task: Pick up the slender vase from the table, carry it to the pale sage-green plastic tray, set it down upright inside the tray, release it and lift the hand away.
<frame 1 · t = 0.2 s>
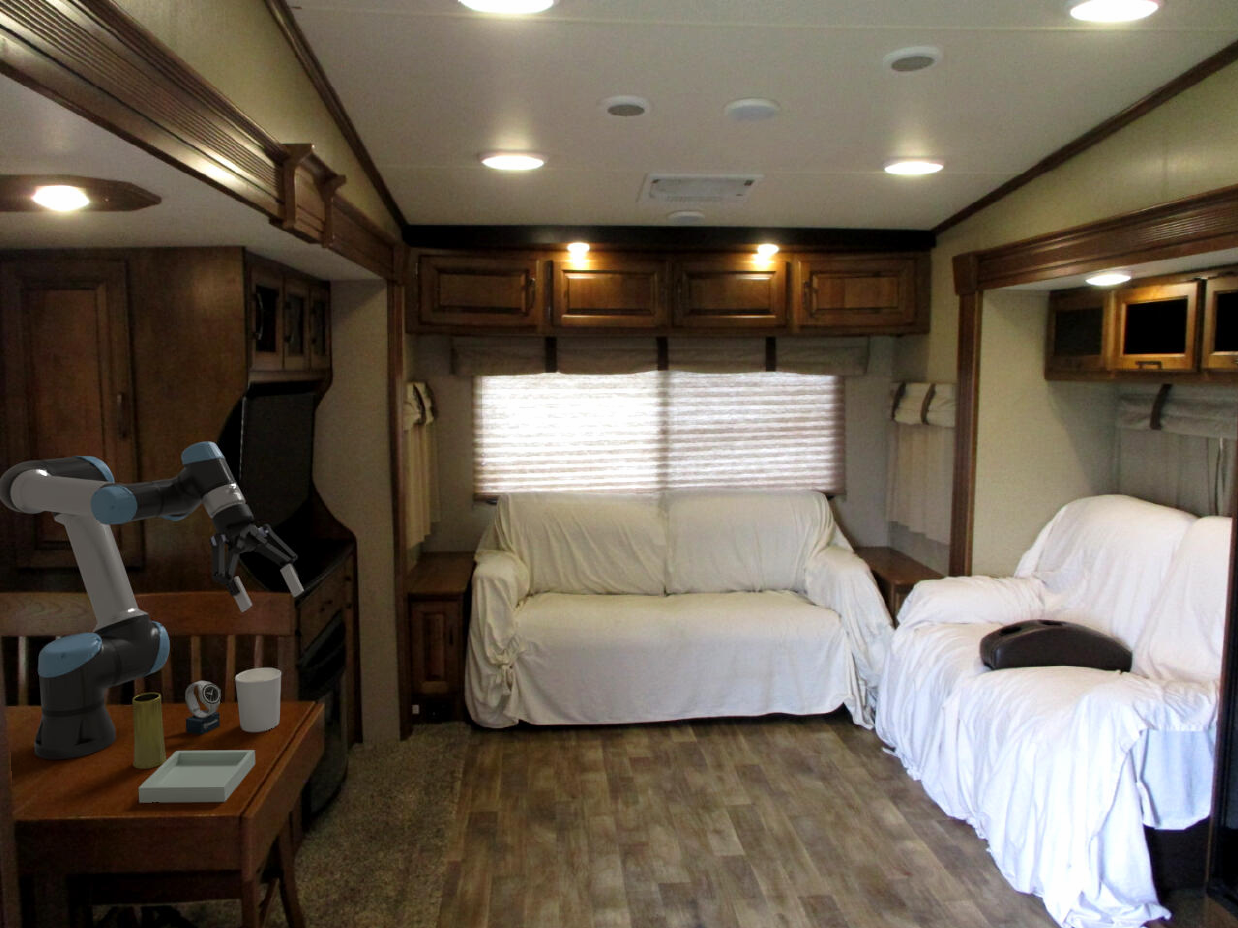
hand: (273, 601, 181), 35 cm above the table, tool tilted 35°, fingers open, 13 cm apart
watch: (203, 729, 203), on the table
candle holder: (260, 725, 206), on the table
vase: (150, 763, 186), on the table
tray: (200, 782, 178), on the table
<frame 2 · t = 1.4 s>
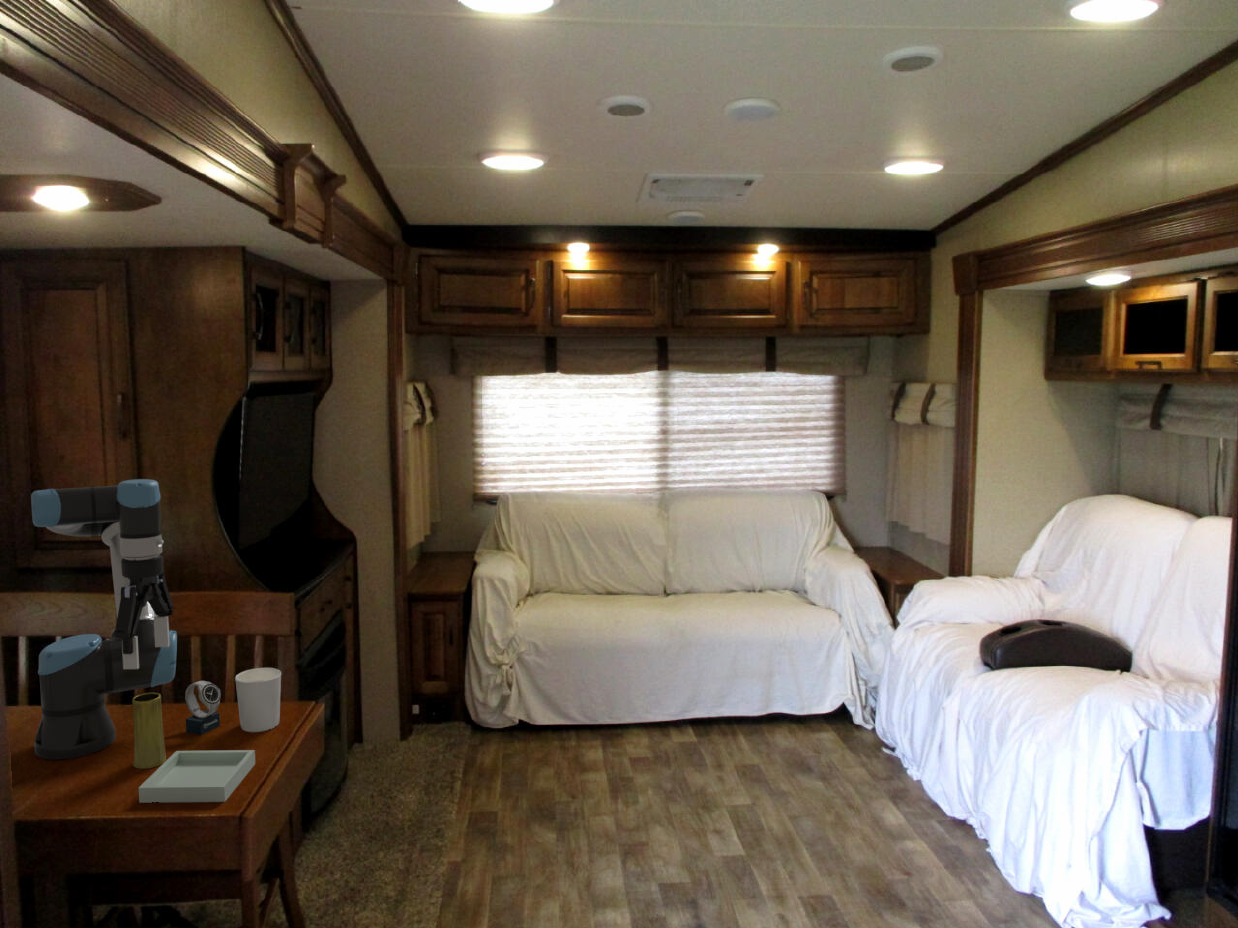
hand: (147, 657, 183), 23 cm above the table, tool pointing down, fingers open, 13 cm apart
nothing on the table moved.
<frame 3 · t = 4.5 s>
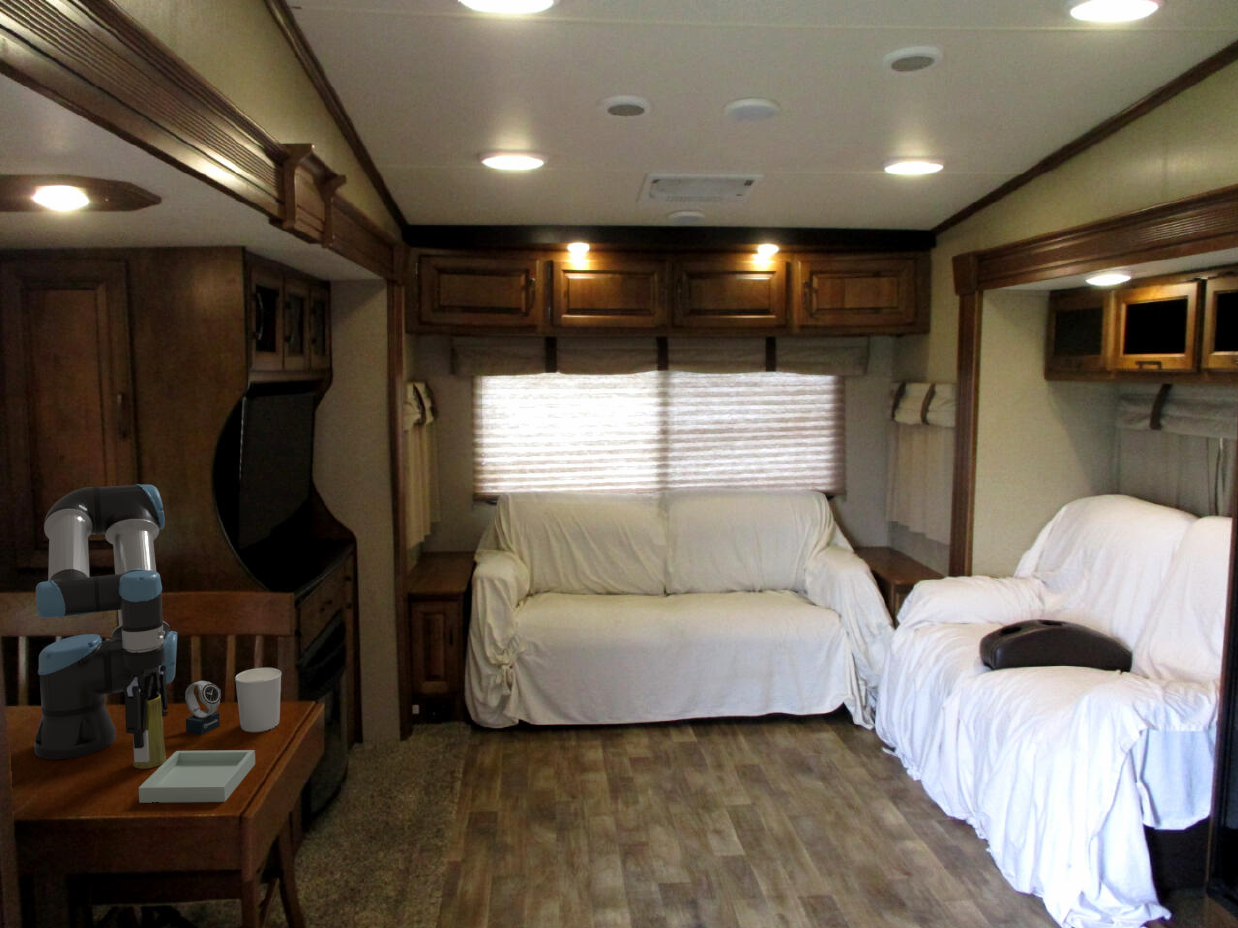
hand: (149, 754, 186), 2 cm above the table, tool pointing down, fingers closed on vase, 6 cm apart
vase: (150, 763, 186), on the table, touching gripper
everything else where it was.
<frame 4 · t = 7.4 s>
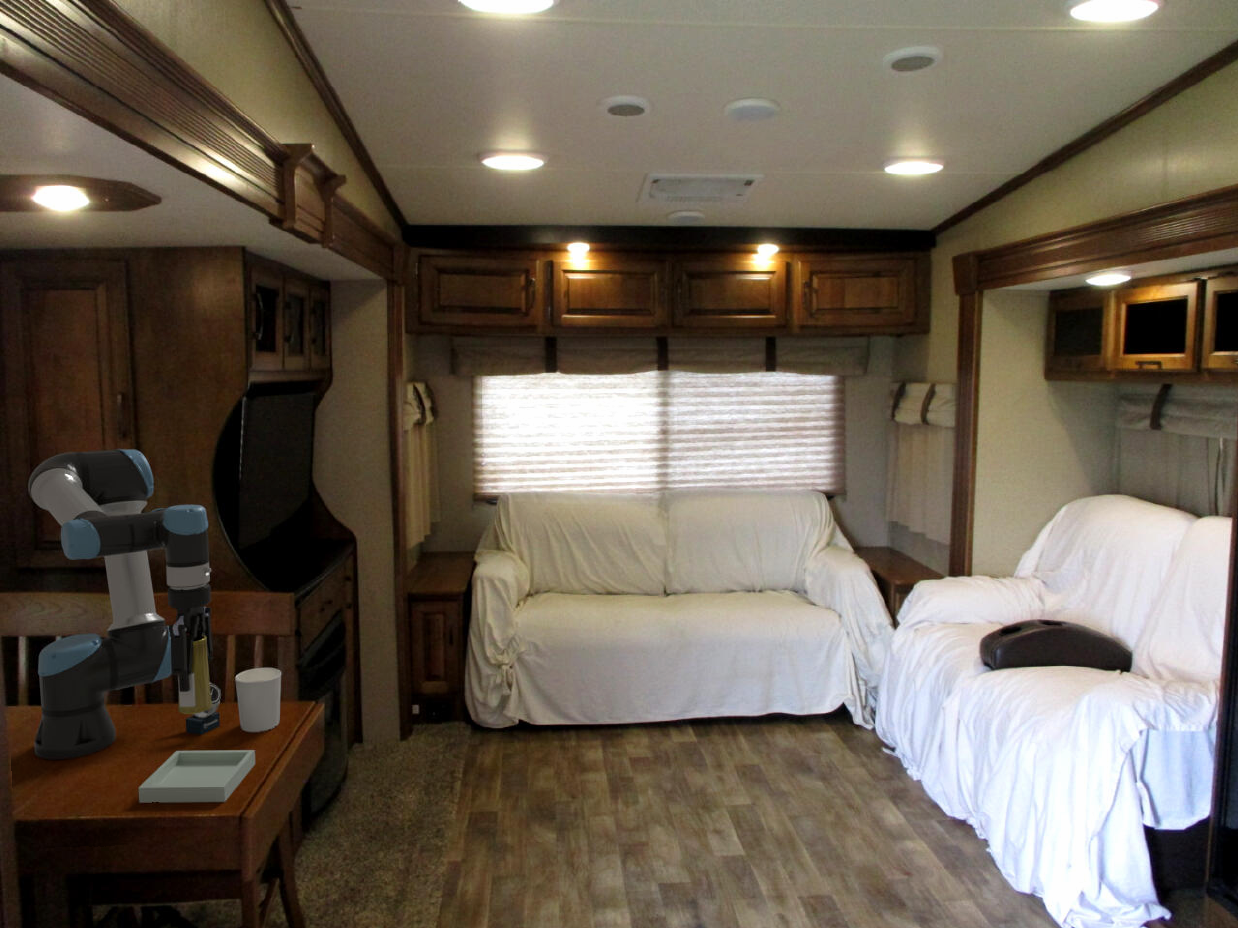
hand: (194, 699, 176), 17 cm above the table, tool pointing down, fingers closed on vase, 6 cm apart
vase: (195, 709, 176), point 15 cm above the table, touching gripper
everything else where it was.
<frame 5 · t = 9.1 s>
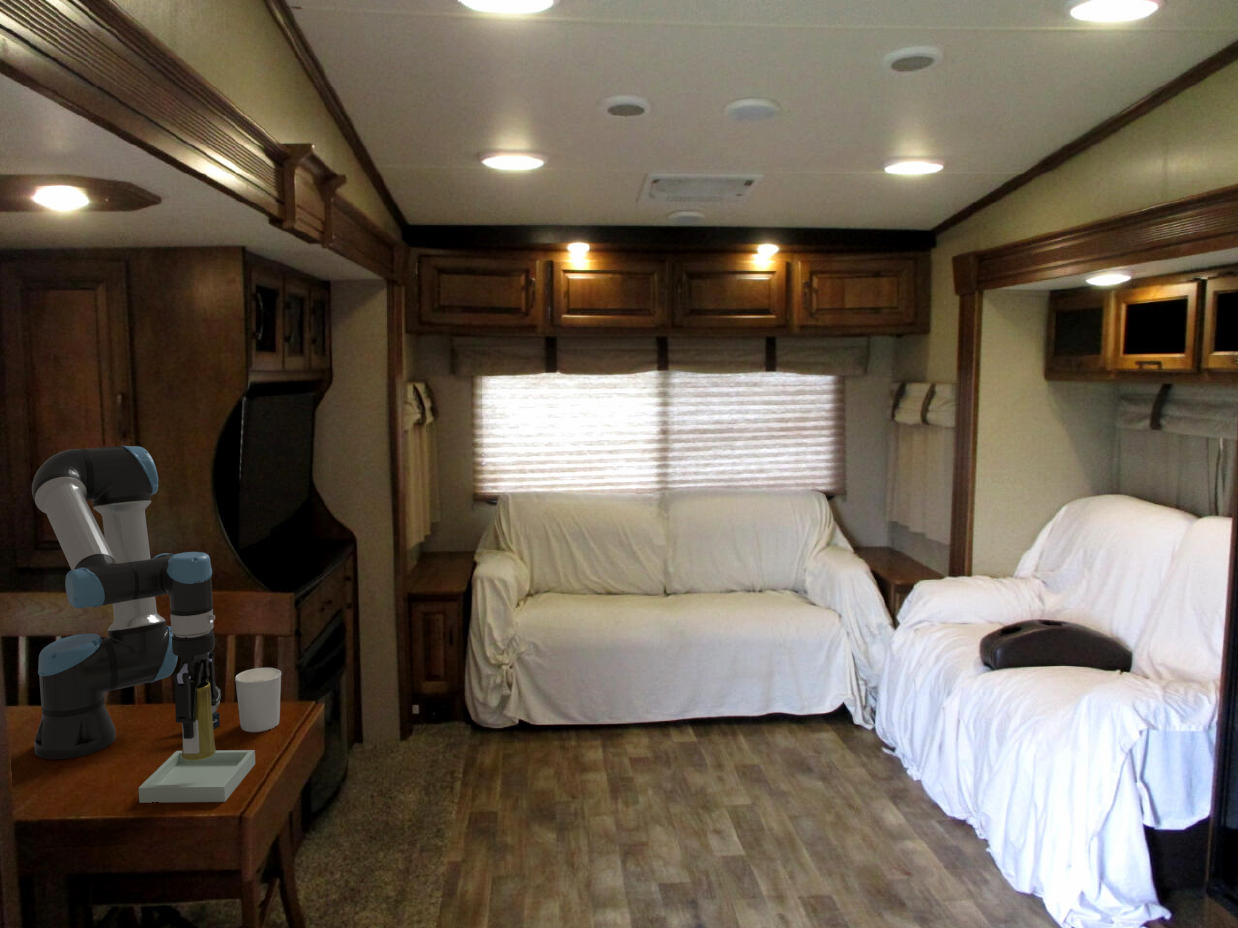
hand: (198, 745, 177), 8 cm above the table, tool pointing down, fingers closed on vase, 6 cm apart
vase: (198, 754, 177), point 6 cm above the table, touching gripper
everything else where it was.
when the fingers open (4 cm above the table, at t = 10.5 s): vase drops 1 cm, resting on tray.
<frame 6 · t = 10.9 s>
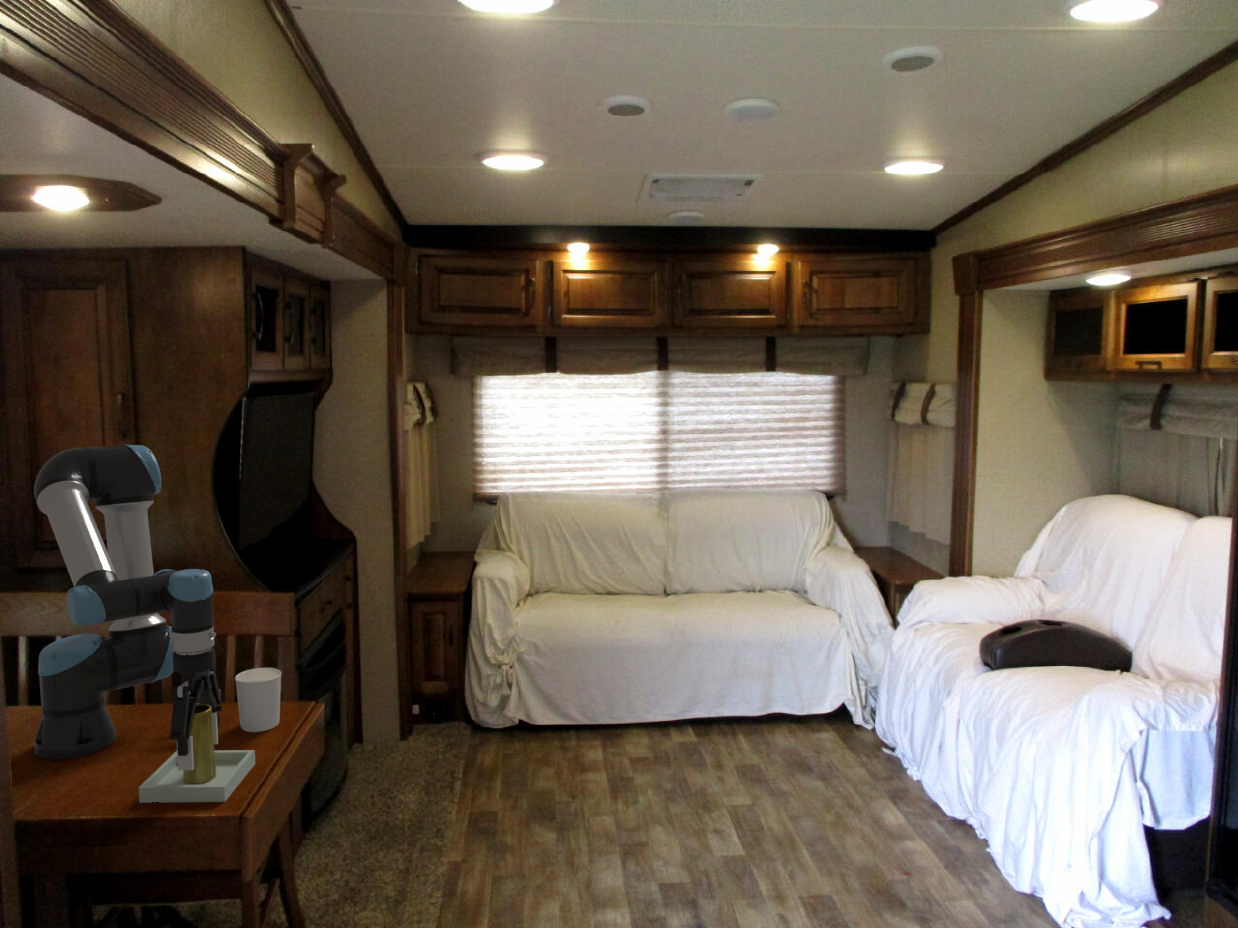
hand: (198, 756, 177), 5 cm above the table, tool pointing down, fingers open, 11 cm apart
vase: (199, 778, 178), point 1 cm above the table, touching tray
everything else where it was.
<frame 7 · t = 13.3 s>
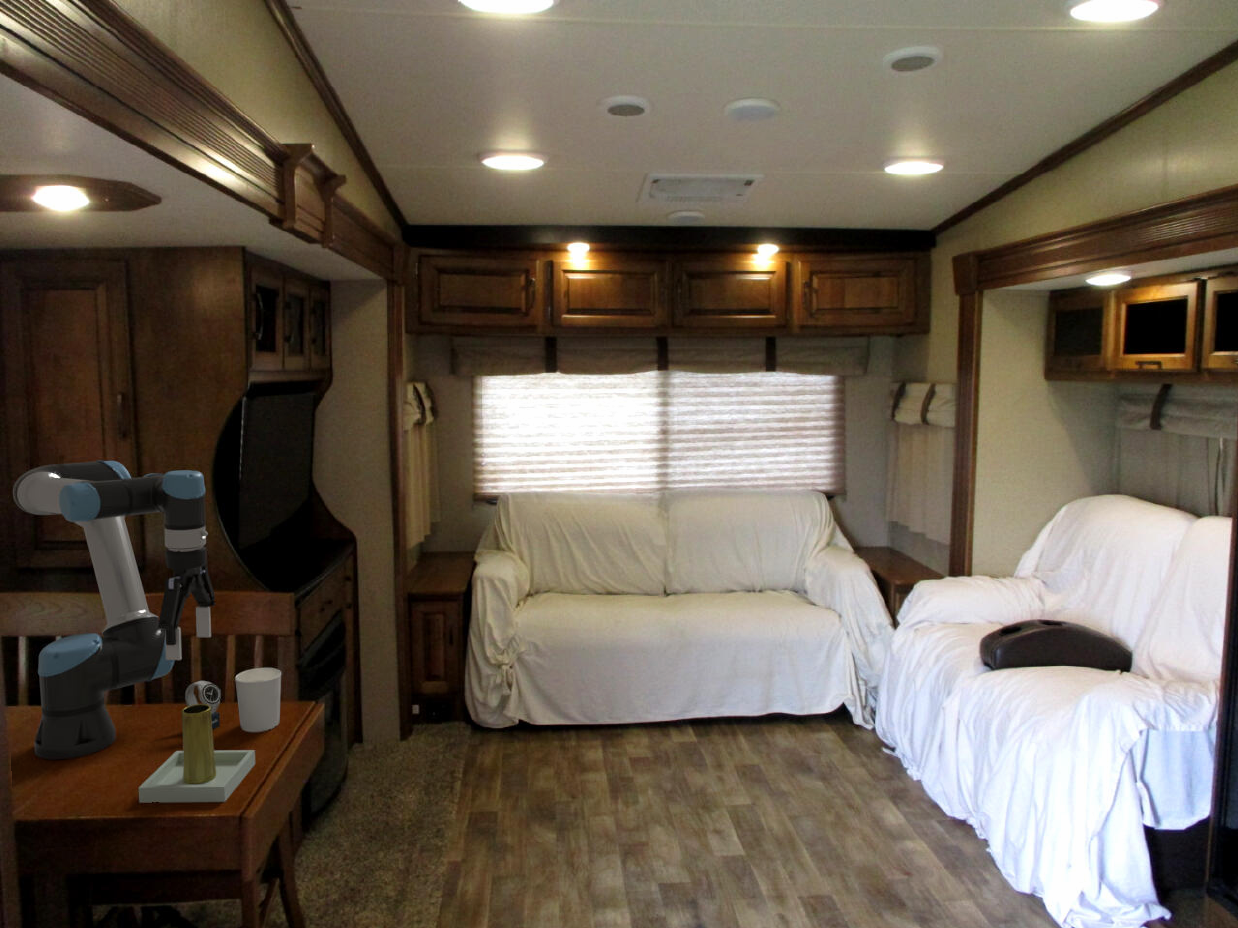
hand: (189, 647, 184), 25 cm above the table, tool pointing down, fingers open, 13 cm apart
nothing on the table moved.
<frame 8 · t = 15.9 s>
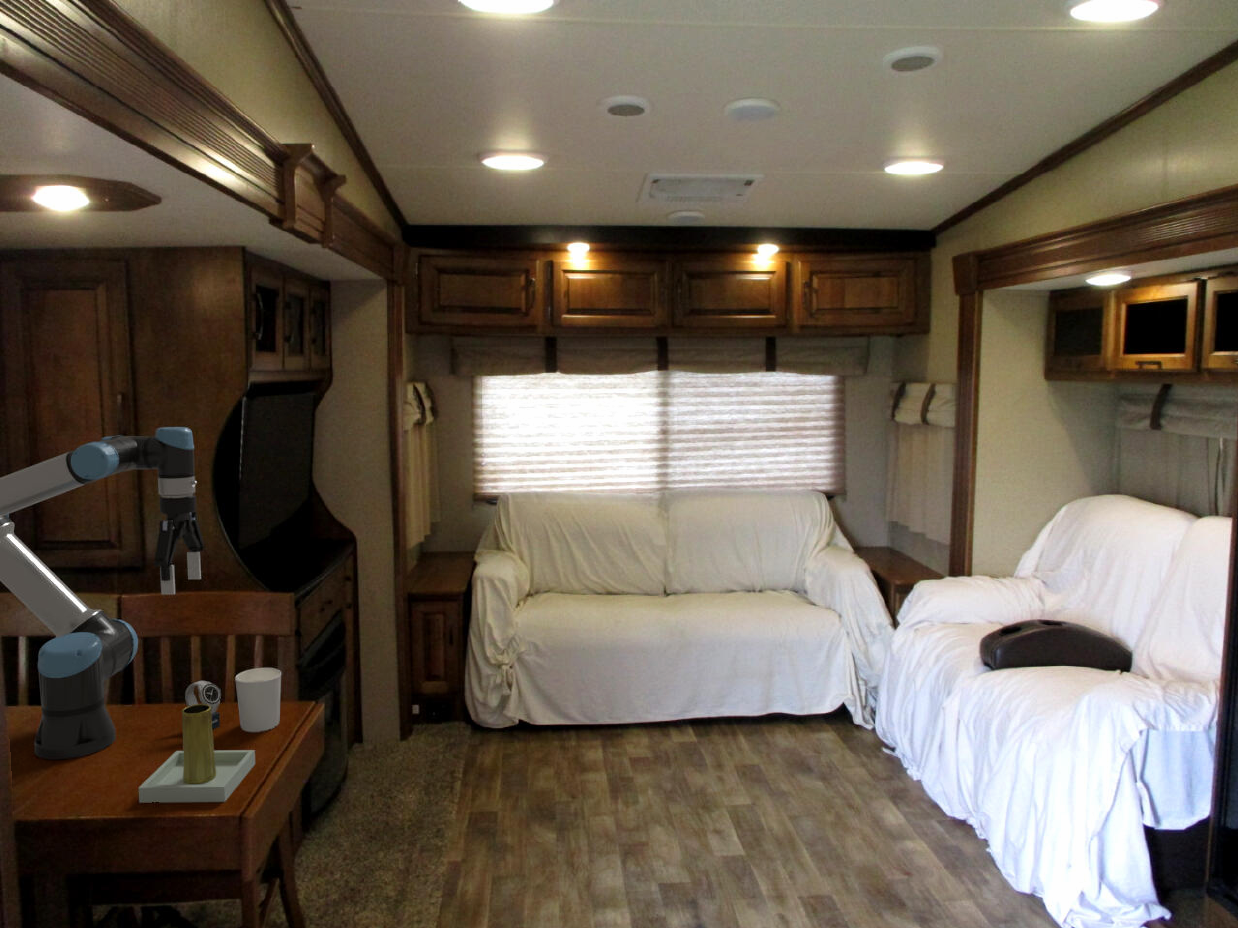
hand: (181, 586, 205), 32 cm above the table, tool pointing down, fingers open, 13 cm apart
nothing on the table moved.
at the end: vase inside the target area on the tray (0.1 cm from its centre), point 0.8 cm above the tray's base; vase tilted 0°; the gripper is holding nothing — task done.
